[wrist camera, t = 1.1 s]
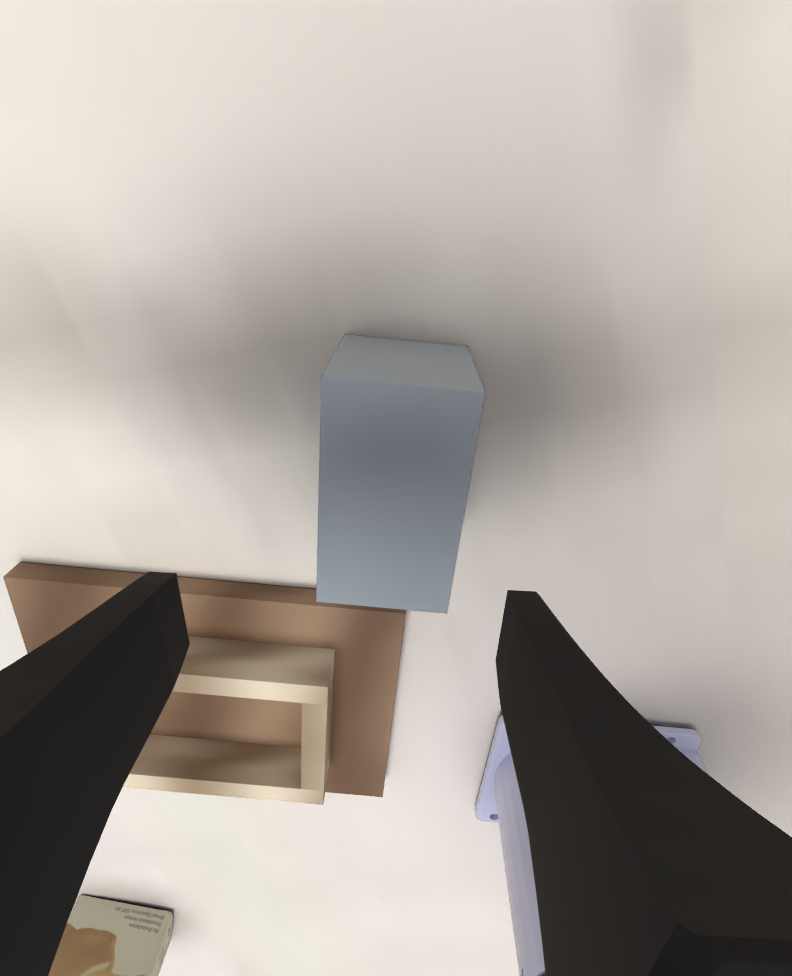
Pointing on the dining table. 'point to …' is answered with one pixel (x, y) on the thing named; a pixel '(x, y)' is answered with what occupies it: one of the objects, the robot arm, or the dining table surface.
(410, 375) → the key block
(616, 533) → the dining table surface
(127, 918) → the skincare box
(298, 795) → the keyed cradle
